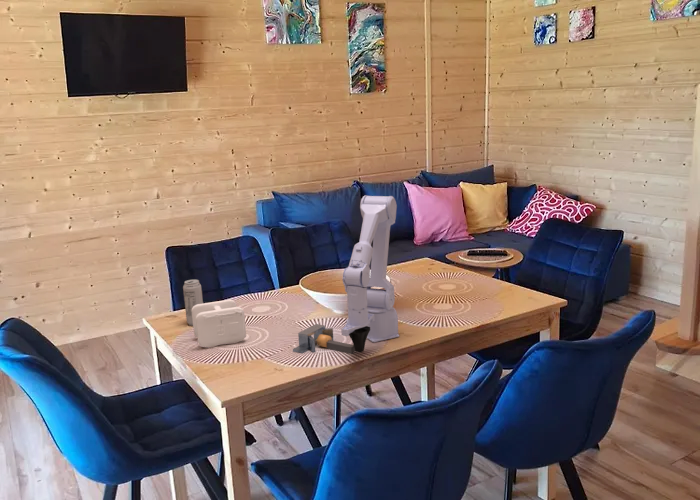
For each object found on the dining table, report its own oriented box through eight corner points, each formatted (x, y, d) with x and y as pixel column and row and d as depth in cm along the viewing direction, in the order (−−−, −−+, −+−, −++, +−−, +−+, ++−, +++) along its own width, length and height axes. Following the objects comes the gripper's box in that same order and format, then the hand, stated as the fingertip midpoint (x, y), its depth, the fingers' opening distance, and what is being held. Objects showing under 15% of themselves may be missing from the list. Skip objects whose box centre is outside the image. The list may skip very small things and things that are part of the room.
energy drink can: (208, 322, 224) (204, 280, 221) (194, 327, 220) (189, 285, 216) (197, 319, 228) (193, 278, 225) (183, 324, 224) (178, 282, 220)
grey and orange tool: (356, 350, 194) (356, 339, 193) (350, 354, 191) (349, 343, 190) (321, 343, 201) (321, 332, 200) (314, 347, 198) (313, 335, 197)
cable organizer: (240, 331, 214) (237, 298, 211) (247, 342, 204) (244, 307, 202) (194, 339, 209) (190, 305, 206) (198, 350, 199) (195, 314, 197)
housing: (338, 338, 204) (337, 323, 203) (309, 355, 192) (308, 339, 191) (322, 335, 207) (321, 320, 206) (293, 351, 195) (291, 336, 194)
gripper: (359, 298, 196) (361, 340, 199) (331, 312, 184) (334, 357, 187) (379, 301, 192) (381, 344, 195) (352, 316, 180) (354, 361, 183)
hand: (359, 351), depth 191 cm, fingers closed
